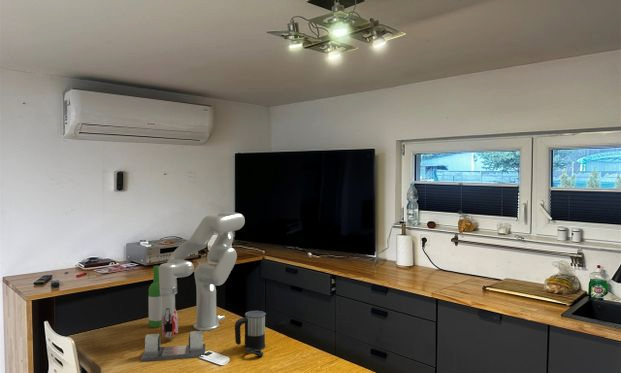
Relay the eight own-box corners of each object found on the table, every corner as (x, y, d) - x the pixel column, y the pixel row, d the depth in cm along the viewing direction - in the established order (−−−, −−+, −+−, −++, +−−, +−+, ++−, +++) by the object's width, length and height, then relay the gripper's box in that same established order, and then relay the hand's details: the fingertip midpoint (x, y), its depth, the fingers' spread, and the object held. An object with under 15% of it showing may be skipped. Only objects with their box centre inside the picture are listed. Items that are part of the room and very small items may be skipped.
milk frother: (257, 340, 195) (257, 309, 195) (279, 351, 184) (279, 317, 183) (231, 349, 185) (231, 316, 185) (252, 361, 174) (252, 325, 174)
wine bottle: (154, 322, 219) (153, 264, 218) (168, 323, 218) (167, 265, 217) (145, 327, 212) (145, 267, 211) (159, 328, 210) (159, 268, 209)
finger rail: (205, 347, 188) (205, 328, 188) (204, 356, 178) (204, 336, 178) (145, 351, 183) (145, 332, 182) (141, 361, 173) (141, 341, 173)
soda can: (173, 338, 192) (172, 312, 191) (159, 337, 193) (158, 312, 192) (181, 332, 199) (180, 307, 198) (167, 331, 200) (166, 306, 199)
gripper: (162, 285, 202) (163, 322, 203) (157, 296, 185) (158, 336, 186) (178, 284, 204) (180, 320, 205) (174, 295, 187) (176, 335, 188)
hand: (169, 328), depth 196 cm, fingers closed on soda can, 7 cm apart
